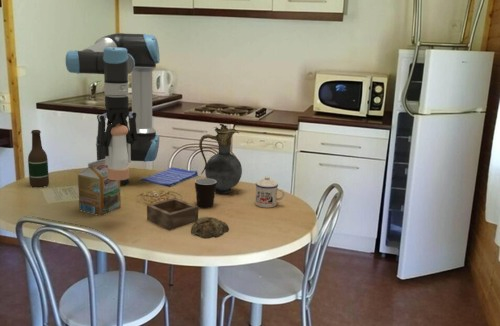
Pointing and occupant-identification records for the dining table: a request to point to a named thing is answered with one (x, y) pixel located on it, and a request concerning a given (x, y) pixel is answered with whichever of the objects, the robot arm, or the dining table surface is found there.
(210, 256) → the dining table surface
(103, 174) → the milk carton
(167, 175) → the dish towel
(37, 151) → the beer bottle
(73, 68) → the robot arm
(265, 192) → the teacup with lid
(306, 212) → the dining table surface
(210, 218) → the bread roll
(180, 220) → the square wooden tray
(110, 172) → the pepper shaker
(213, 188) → the coffee mug
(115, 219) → the dining table surface
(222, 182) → the pitcher
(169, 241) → the dining table surface
